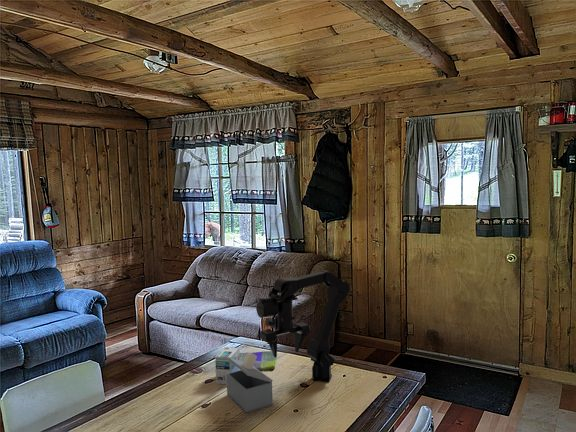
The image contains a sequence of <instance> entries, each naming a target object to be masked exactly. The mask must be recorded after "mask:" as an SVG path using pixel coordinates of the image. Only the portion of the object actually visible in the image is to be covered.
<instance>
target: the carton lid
mask: <svg viewBox="0 0 576 432" xmlns="http://www.w3.org/2000/svg"><path fill="white" fill-rule="evenodd" d="M246 353H247V354H246V356H245V359H244V361H243V362H241V361H238V360H235V359H231V358H229V359H228V360H229V361H230V362H231V363H233V364H234V365H235V366H236V367H238V368H239V369H240V370H241V371H243V372H244V373H245V374H246V375H248V376H251V377H254V378H258V379H261V380H265V381H268V382H271V383H272V384H273V381H274V380H273V379H271V378H270V377H269V376H267V375H266V374H265V373H263V372H262V371H259V370H258V369H257V368H255V367H254V366H253V365H254V363H255V360H256V358H257V356H256V355H255V354H253V353H254V352H249V351H247V352H246Z"/></svg>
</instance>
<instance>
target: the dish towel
mask: <svg viewBox="0 0 576 432" xmlns="http://www.w3.org/2000/svg"><path fill="white" fill-rule="evenodd" d="M239 353H240V361H241V362H243V361H244V359H245V356H246V354H247V352H239ZM252 353H253V354H255V355H256V356H257V358H256V360H255V363H254V365H253V366H254V367H255V368H257V369H258V370H259V371H261V372H262V371H268V370H270V371H271V370H275V368H276V364H277V359H278V358H277V357H278V355H277V356H276V358H275V357H274V356H273V353H272V350H270V351H256V352H252Z"/></svg>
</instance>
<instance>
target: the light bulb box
mask: <svg viewBox="0 0 576 432" xmlns="http://www.w3.org/2000/svg"><path fill="white" fill-rule="evenodd" d="M240 353H241V352H240V347H227V346H223V347H222V349H221V350H220V351H219V352H218V353H217V354H216V355H215V356H214V357H215V359H214V360H215V378H216V380H215V382H216V384H217V385H218V384H219V385H220V384H221V385H227V376H226V374H227V373H231V372H234V371H238V370H240V369H239V368H238V367H236V366H235V365H234V364H233V363H231V362H230V361H229V360H228V359H229V358H231V359H235V360H238V361H240Z"/></svg>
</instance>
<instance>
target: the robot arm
mask: <svg viewBox="0 0 576 432" xmlns="http://www.w3.org/2000/svg"><path fill="white" fill-rule="evenodd" d="M322 283H323V284H324V285H325V286H327V290H326V293H327V303H326V305H325V309H324V312H323V316H322V318H321V321H320V324H319V328H318V331H317V333H316V335H315V336H314V337H313V338H311V337H310V338H309V339H308V344H307V346H306V354H307V356H308V358H310V361H311V362H313V365H312V368H311V369H312V371H311V375H312V381H314V382H326V383H330V381H331V379H332V377H333V374H332V366H334V364H335V359H334V358H333V356H331V355H330V349H331V348H330V346H331V345H330V337H331V334H332V331H333V328H334V324H335V321H336V318H337V315H338V312H339V309H340V307H341V304H342V303H343V302H344V301H345V300H346V299H347V297H348V295H349V293H350V291H351V286H350V284H349V283H348V282H347V281H345V280H342V279H341V278H339V277H337V276H336V275H334V274H333V273H332V272H331V271H329V270H324V269H321V270H319V271H315V272H313V273H308V274H305V275H300V276H298V277H278V278H277V279H276V280H275V282H274V283H273V286H272V289H271V290H270V292H269V294H268V295H267V296H268V297H259V298H258V302H257V304H256V306H255V307H256V314H257V316H258V317H259V318H260V319H263V318H265V326H266V327H270V328H268V329H264V330H263V329H262V330H260V332H259V339H260V340H262V341H264V342H265V343H267V344H268V346H269V347H270V351H272V353H273V356H274V357H275V358H276V356H277V357H278V341H277V337H279V336H284V335H289V334H293V336H294V351H295V352H296V353H298V352H299V351H300V348H301V346H302V344H303V342H304V340H305V339H306V336H308V335H309V334H310V333H311V326H310V325H309V324H308V323H306V322H303V321H301V322H297V323H294V320H295V318H296V317H295V315H294V314H293V313H294V312H293V311H294V310H293V301H297V300H298V297H297V296H296V295H295V294H297V293H298V292H299V291H301V289H305V288H308V287H313V286H316V285H319V284H322ZM273 316H274V317H275V318H272V317H273ZM272 329H274V330H272Z"/></svg>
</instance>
